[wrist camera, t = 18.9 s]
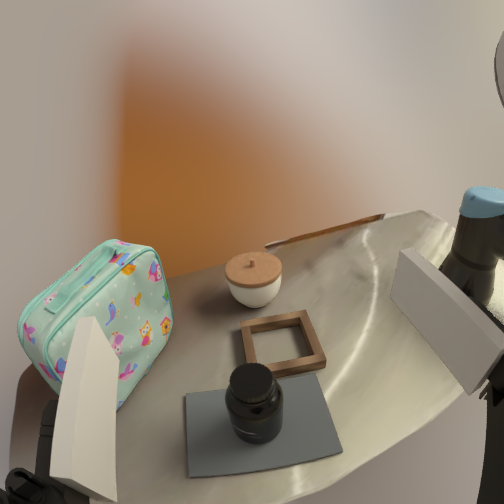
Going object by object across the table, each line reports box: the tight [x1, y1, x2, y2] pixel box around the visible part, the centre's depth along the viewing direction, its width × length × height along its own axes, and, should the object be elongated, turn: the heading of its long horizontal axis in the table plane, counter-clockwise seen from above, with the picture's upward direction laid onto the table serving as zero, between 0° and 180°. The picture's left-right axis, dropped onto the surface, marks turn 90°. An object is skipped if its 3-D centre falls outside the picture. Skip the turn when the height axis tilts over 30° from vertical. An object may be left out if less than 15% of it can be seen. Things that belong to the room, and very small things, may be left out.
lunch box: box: [17, 239, 173, 410], centre depth 41 cm, size 27×10×21 cm, turn 160°
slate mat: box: [186, 373, 343, 478], centre depth 36 cm, size 20×14×1 cm
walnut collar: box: [240, 310, 326, 378], centre depth 48 cm, size 12×12×2 cm
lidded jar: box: [225, 252, 282, 308], centre depth 58 cm, size 11×11×9 cm
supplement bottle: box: [225, 363, 283, 444], centre depth 33 cm, size 7×7×12 cm
